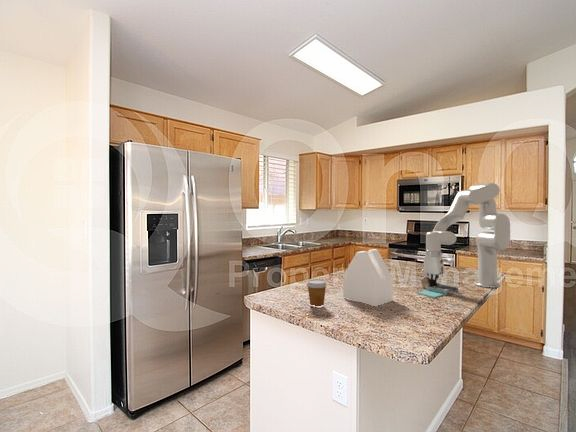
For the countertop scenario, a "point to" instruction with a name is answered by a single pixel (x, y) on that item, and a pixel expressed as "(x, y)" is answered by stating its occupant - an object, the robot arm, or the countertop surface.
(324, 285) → the disposable coffee cup
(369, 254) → the milk carton
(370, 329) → the countertop surface
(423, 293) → the pad
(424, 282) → the wooden knob block
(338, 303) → the countertop surface
